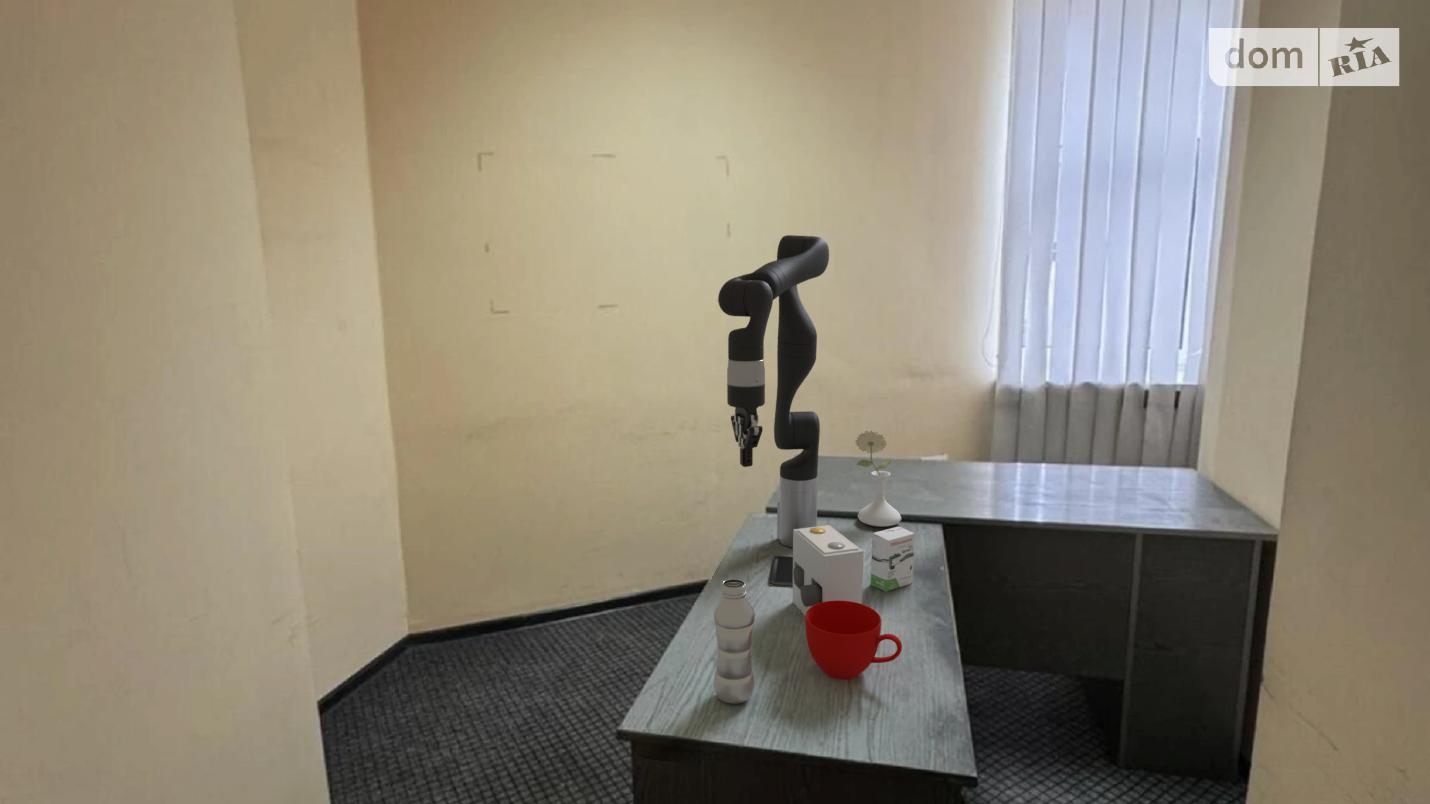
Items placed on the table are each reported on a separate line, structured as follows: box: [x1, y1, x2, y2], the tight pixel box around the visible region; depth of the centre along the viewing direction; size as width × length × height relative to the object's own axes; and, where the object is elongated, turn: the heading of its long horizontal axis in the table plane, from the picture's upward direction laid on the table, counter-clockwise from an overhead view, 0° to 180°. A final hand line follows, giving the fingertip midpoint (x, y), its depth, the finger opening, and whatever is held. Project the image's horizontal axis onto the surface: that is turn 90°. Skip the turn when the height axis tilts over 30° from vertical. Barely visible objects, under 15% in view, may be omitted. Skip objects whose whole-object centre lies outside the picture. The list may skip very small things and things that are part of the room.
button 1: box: [793, 567, 804, 587], centre depth 157 cm, size 4×4×4 cm
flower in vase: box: [854, 430, 902, 528], centre depth 205 cm, size 13×11×25 cm
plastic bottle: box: [713, 578, 756, 705], centre depth 125 cm, size 6×7×20 cm
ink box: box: [870, 526, 916, 593], centre depth 168 cm, size 9×5×12 cm, turn 123°
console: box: [792, 524, 864, 616], centre depth 153 cm, size 8×15×16 cm, turn 17°
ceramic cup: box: [804, 600, 903, 681], centre depth 133 cm, size 13×17×10 cm
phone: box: [768, 555, 793, 587], centre depth 176 cm, size 8×1×15 cm
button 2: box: [801, 583, 822, 607], centre depth 148 cm, size 4×4×4 cm
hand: (746, 465), depth 157 cm, fingers closed
